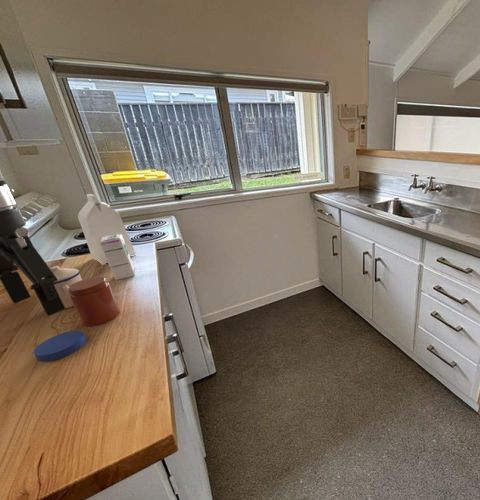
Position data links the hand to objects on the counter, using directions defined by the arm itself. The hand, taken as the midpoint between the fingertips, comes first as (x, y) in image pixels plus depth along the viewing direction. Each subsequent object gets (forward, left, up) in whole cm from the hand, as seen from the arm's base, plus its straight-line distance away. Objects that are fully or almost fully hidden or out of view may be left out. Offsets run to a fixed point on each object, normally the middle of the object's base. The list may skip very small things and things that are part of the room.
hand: (38, 305), depth 61 cm
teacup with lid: (0, +25, -12) cm, 28 cm away
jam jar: (+7, +10, -12) cm, 17 cm away
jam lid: (0, 0, -10) cm, 10 cm away
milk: (+10, +63, -12) cm, 65 cm away
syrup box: (+13, +38, -12) cm, 42 cm away
